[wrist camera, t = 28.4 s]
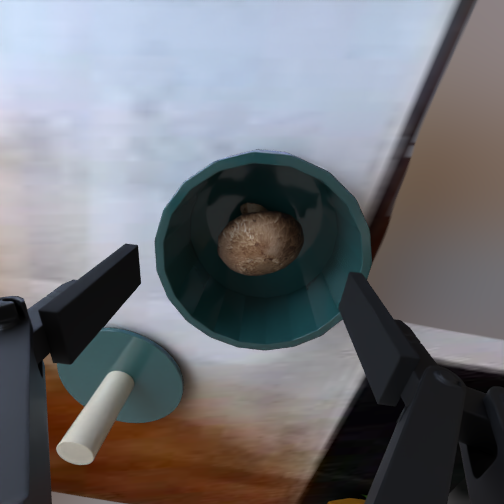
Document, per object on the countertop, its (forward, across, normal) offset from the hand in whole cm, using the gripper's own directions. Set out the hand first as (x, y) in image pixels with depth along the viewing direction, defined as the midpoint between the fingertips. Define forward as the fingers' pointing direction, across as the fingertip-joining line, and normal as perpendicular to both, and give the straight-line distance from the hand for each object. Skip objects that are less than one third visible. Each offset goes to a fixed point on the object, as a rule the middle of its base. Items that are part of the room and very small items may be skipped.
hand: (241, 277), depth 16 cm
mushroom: (+11, +1, -1) cm, 11 cm away
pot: (+12, +1, -1) cm, 12 cm away
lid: (+10, -15, -25) cm, 31 cm away
